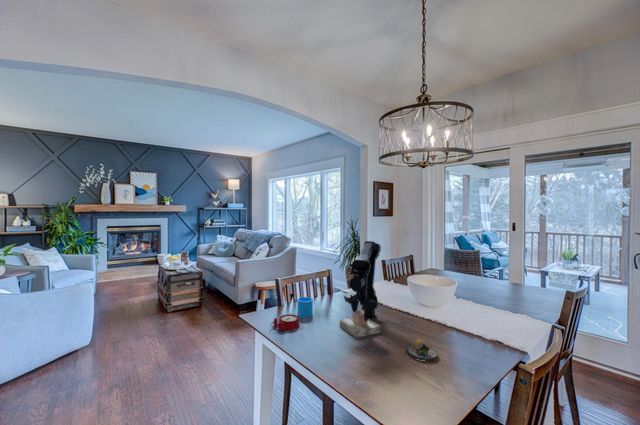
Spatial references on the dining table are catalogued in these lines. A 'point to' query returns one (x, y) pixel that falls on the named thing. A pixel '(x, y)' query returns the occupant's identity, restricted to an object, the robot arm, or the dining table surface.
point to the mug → (305, 307)
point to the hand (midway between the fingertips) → (360, 317)
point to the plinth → (360, 327)
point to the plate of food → (421, 351)
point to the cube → (359, 318)
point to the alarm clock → (287, 322)
